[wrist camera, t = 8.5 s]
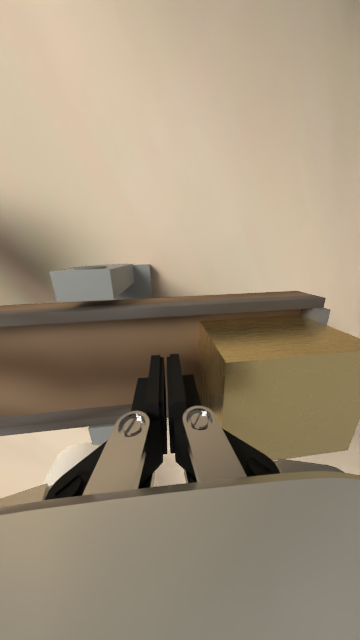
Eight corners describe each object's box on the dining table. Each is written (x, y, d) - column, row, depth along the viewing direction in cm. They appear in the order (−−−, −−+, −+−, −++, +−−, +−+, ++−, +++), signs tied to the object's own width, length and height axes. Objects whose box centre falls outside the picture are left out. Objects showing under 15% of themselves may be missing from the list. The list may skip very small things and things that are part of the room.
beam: (-82, 301, 14) (-249, 331, 8) (272, 285, 16) (332, 299, 11) (-38, 389, 16) (-141, 458, 11) (262, 363, 19) (306, 407, 13)
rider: (199, 320, 12) (226, 362, 7) (300, 314, 13) (385, 349, 8) (198, 396, 14) (219, 467, 9) (286, 387, 14) (347, 450, 10)
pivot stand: (85, 264, 17) (17, 270, 9) (149, 262, 18) (138, 266, 10) (106, 376, 21) (71, 448, 13) (158, 372, 22) (155, 439, 14)
